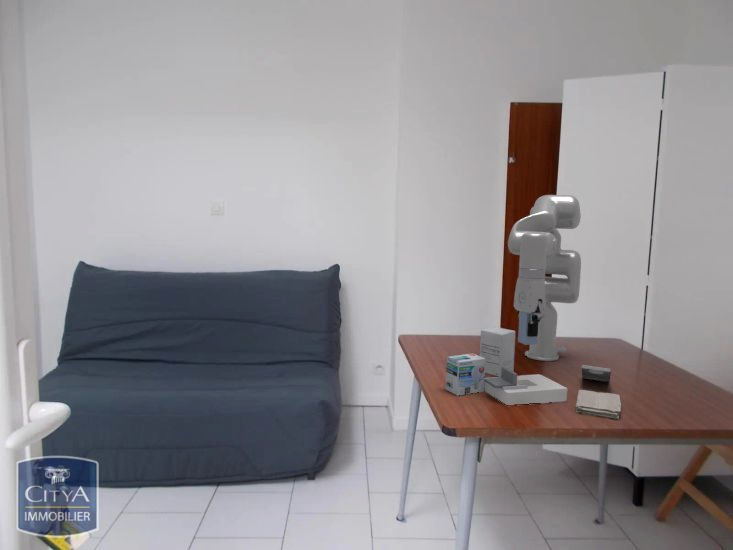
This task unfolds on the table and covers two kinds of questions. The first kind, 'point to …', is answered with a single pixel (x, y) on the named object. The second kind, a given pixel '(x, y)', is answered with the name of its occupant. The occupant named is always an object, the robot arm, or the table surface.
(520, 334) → the plug
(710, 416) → the table surface
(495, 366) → the supplement box
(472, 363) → the light bulb box
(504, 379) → the block
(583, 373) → the light switch
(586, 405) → the washcloth
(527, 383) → the socket block
